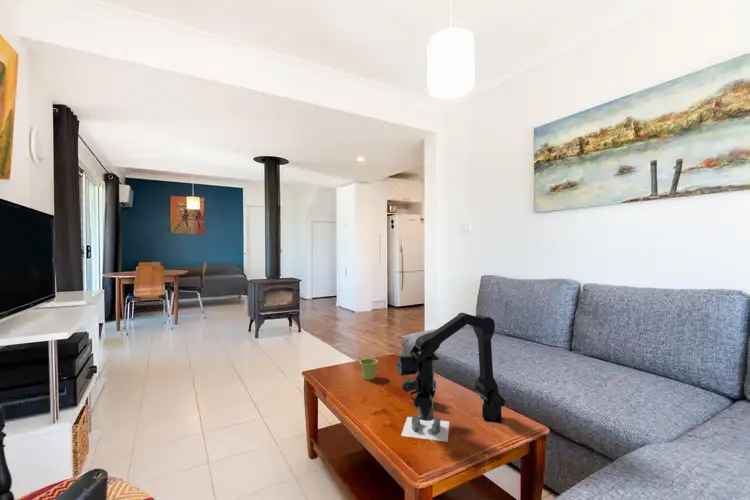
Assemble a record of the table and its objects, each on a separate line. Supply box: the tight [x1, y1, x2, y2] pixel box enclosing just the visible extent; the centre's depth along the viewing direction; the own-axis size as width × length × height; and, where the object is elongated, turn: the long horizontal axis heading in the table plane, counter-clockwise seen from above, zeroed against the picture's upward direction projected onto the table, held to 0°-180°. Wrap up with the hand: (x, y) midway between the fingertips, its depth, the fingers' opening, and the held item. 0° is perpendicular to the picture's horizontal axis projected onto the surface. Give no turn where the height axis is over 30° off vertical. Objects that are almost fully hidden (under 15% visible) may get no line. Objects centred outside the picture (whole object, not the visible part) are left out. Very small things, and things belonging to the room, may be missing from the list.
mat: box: [400, 416, 450, 443], centre depth 123 cm, size 16×14×1 cm
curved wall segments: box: [411, 414, 441, 435], centre depth 123 cm, size 10×7×3 cm
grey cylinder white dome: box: [417, 404, 435, 421], centre depth 123 cm, size 6×6×4 cm
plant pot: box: [359, 358, 379, 381], centre depth 174 cm, size 9×9×9 cm
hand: (426, 415), depth 123 cm, fingers closed on grey cylinder white dome, 6 cm apart
